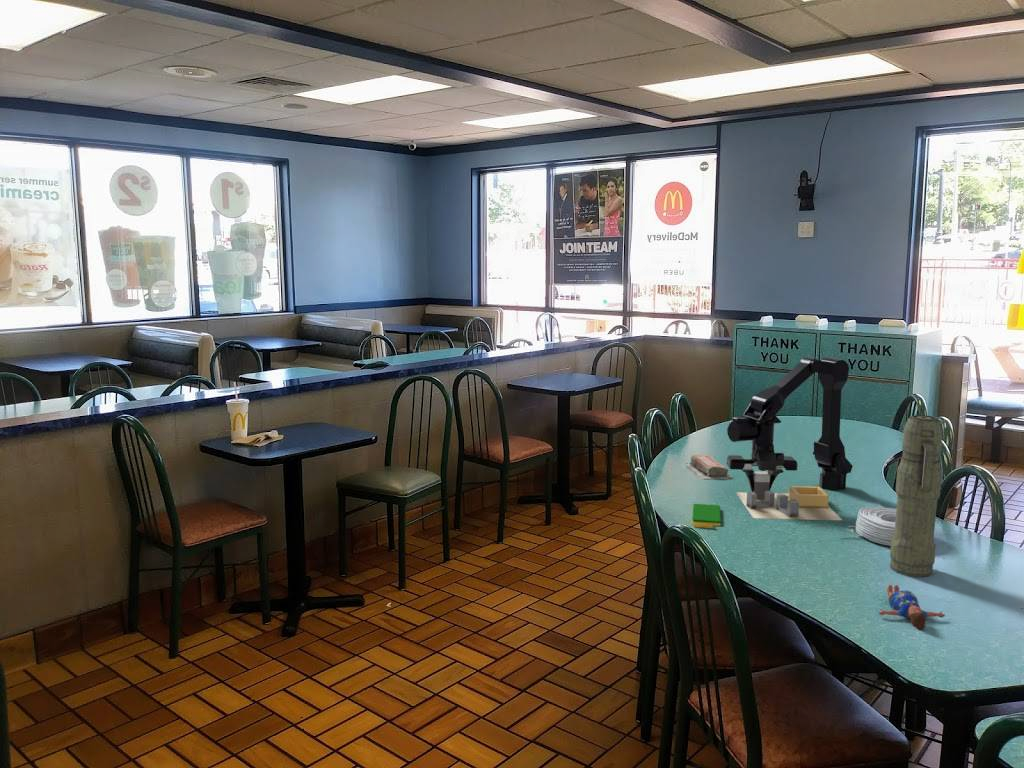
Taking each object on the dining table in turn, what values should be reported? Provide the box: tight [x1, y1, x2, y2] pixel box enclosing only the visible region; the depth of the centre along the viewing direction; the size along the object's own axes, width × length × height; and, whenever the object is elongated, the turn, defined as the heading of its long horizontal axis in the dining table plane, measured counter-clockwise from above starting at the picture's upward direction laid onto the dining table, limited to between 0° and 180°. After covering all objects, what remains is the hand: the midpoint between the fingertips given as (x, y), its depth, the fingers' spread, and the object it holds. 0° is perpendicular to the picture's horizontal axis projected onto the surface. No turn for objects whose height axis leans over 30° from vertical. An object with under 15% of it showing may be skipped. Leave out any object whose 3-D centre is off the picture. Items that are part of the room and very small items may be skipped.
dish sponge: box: [691, 503, 722, 530], centre depth 216 cm, size 7×14×2 cm, turn 166°
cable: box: [845, 506, 897, 547], centre depth 202 cm, size 18×18×6 cm
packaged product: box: [685, 454, 733, 480], centre depth 259 cm, size 18×5×10 cm
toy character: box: [878, 584, 946, 631], centre depth 160 cm, size 12×5×15 cm
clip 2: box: [776, 495, 799, 517], centre depth 218 cm, size 7×2×4 cm, turn 12°
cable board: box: [735, 491, 843, 521], centre depth 225 cm, size 23×23×1 cm
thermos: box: [889, 414, 943, 578], centre depth 179 cm, size 9×12×35 cm
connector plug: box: [750, 470, 770, 499], centre depth 232 cm, size 4×4×7 cm
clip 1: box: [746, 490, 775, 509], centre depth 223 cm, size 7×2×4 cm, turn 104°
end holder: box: [787, 485, 830, 508], centre depth 226 cm, size 8×8×4 cm
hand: (760, 491), depth 232 cm, fingers closed on connector plug, 4 cm apart
